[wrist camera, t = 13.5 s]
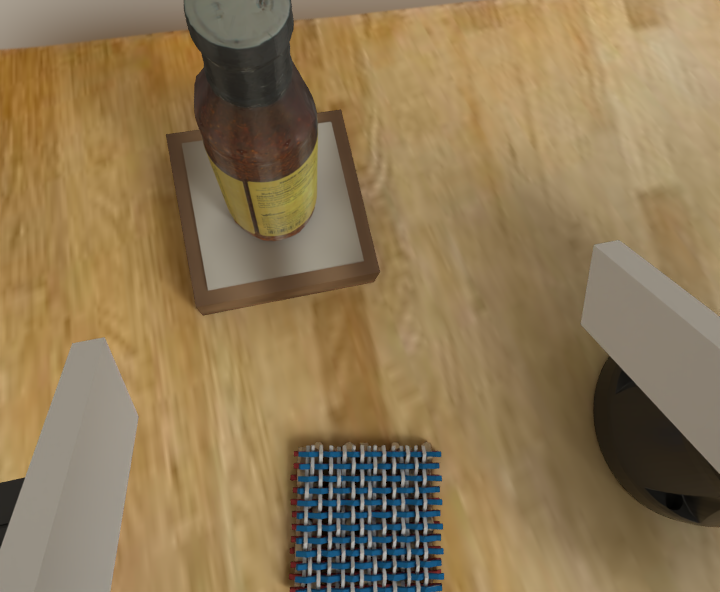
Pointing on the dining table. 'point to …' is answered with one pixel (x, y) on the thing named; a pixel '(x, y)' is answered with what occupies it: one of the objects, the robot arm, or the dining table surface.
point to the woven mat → (365, 520)
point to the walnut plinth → (272, 258)
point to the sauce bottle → (255, 114)
